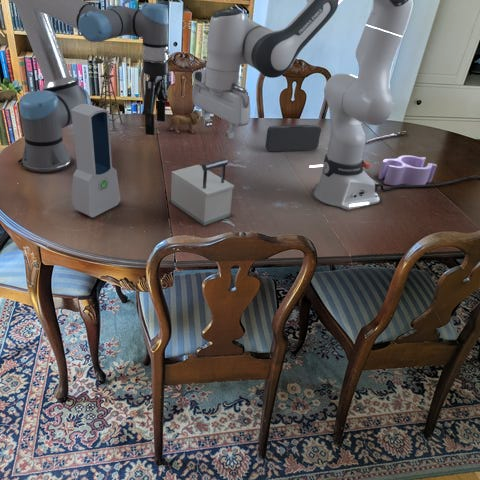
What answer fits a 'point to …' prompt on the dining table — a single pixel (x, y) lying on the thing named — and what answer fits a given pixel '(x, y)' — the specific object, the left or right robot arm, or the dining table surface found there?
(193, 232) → the dining table surface
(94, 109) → the electronic device
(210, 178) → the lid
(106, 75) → the miniature windmill
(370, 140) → the sword
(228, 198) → the chest
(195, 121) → the lion figurine
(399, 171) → the clip
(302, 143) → the handheld gaming console
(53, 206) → the dining table surface
